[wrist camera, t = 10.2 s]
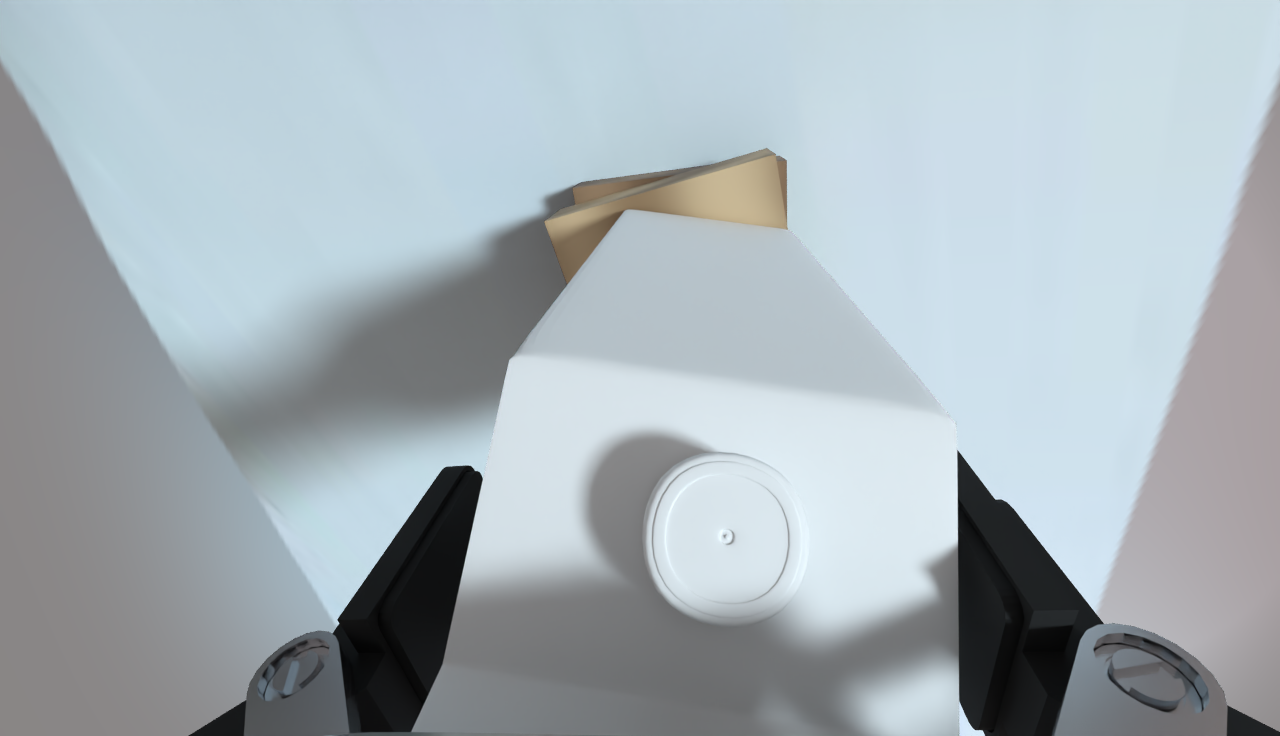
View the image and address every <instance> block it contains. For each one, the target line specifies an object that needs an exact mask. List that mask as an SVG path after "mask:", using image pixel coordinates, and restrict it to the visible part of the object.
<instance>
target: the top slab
mask: <svg viewBox="0 0 1280 736" xmlns="http://www.w3.org/2000/svg"><path fill="white" fill-rule="evenodd" d="M629 209H632V210H642V211H650V212H658V213H666V214H673V215H681V216H689V217H697V218H704V219H712V220H720V221H728V222H735V223H743V224H751V225H759V226H766V227H774V228H781V229H786V230H788V228H787V222H786V216H785V210H784V204H783V197H782V191H781V185H780V179H779V173H778V166H777V160H776V154H774V153H773V152H772V151H770V150H769V149H767V148H766V149H763V150H759V151H756V152H752V153H749V154H746V155H742V156H739V157H736V158H732V159H729V160H725V161H722V162H719V163H715V164H712V165H708V166H705V167H702V168H698V169H695V170H691V171H688V172H685V173H681V174H678V175H674V176H671V177H668V178H664V179H661V180H657V181H654V182H651V183H647V184H644V185H640V186H637V187H634V188H630V189H627V190H623V191H620V192H617V193H613V194H610V195H607V196H603V197H600V198H596V199H593V200H590V201H586V202H583V203H579V204H576V205H573V206H569V207H566V208H562V209H560V210H559V211H557V212H556V213H555V214H553V215H552V216H551V217H549V218H548V219H547V220H545V221H544V223H545V225H546V228H547V231H548V234H549V236H550V239H551V242H552V245H553V247H554V250H555V253H556V256H557V258H558V261H559V264H560V267H561V269H562V272H563V275H564V278H565V280H566V283H567V284H568V283H569V282H570V280H571V279H572V278H573V277H574V275H575V274H576V273H577V271H578V270H579V269H580V268H581V266H582V265H583V264H584V262H585V261H586V260H587V259H588V257H589V256H590V255H591V253H592V252H593V251H594V249H595V248H596V247H597V246H598V244H599V243H600V242H601V240H602V239H603V238H604V237H605V235H606V234H607V233H608V231H609V230H610V229H611V228H612V226H613V225H614V224H615V222H616V221H617V220H618V219H619V217H620V216H621V215H622V213H623V212H624V211H625V210H629Z"/></svg>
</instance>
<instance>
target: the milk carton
mask: <svg viewBox="0 0 1280 736" xmlns="http://www.w3.org/2000/svg"><path fill="white" fill-rule="evenodd" d="M411 732H464V733H519V734H572V735H615V736H959V621H958V485H957V427H956V422H955V421H954V420H953V419H952V418H951V416H950V415H949V414H948V412H947V411H946V410H945V408H944V407H943V406H942V405H941V403H940V402H939V401H938V400H937V399H936V397H935V396H934V395H933V394H932V393H931V392H930V390H929V389H928V388H927V387H926V386H925V385H924V383H923V382H922V381H921V380H920V379H919V378H918V376H917V375H916V374H915V373H914V372H913V370H912V369H911V368H910V367H909V366H908V365H907V364H906V362H905V361H904V360H903V359H902V358H901V357H900V355H899V354H898V353H897V352H896V351H895V350H894V348H893V347H892V346H891V345H890V344H889V343H888V342H887V340H886V339H885V338H884V337H883V336H882V335H881V333H880V332H879V331H878V330H877V329H876V328H875V327H874V325H873V324H872V323H871V322H870V321H869V320H868V318H867V317H866V316H865V315H864V314H863V313H862V311H861V310H860V309H859V308H858V307H857V306H856V305H855V303H854V302H853V301H852V300H851V299H850V298H849V296H848V295H847V294H846V293H845V292H844V291H843V289H842V288H841V287H840V286H839V285H838V284H837V283H836V281H835V280H834V279H833V278H832V277H831V276H830V274H829V273H828V272H827V271H826V270H825V269H824V267H823V266H822V265H821V264H820V263H819V262H818V261H817V259H816V258H815V257H814V256H813V255H812V254H811V252H810V251H809V250H808V249H807V248H806V247H805V245H804V244H803V243H802V242H801V241H800V240H799V239H798V237H797V236H796V235H795V234H794V233H793V232H792V231H790V230H786V229H781V228H774V227H766V226H759V225H751V224H743V223H735V222H728V221H720V220H712V219H704V218H697V217H689V216H681V215H673V214H666V213H658V212H650V211H642V210H632V209H629V210H625V211H624V212H623V213H622V215H621V216H620V217H619V219H618V220H617V221H616V222H615V224H614V225H613V226H612V228H611V229H610V230H609V231H608V233H607V234H606V235H605V237H604V238H603V239H602V240H601V242H600V243H599V244H598V246H597V247H596V248H595V249H594V251H593V252H592V253H591V255H590V256H589V257H588V259H587V260H586V261H585V262H584V264H583V265H582V266H581V268H580V269H579V270H578V271H577V273H576V274H575V275H574V277H573V278H572V279H571V280H570V282H569V283H568V284H567V286H566V287H565V288H564V289H563V291H562V292H561V293H560V295H559V296H558V297H557V298H556V300H555V301H554V302H553V304H552V305H551V306H550V307H549V309H548V310H547V311H546V313H545V314H544V315H543V316H542V318H541V319H540V320H539V322H538V323H537V324H536V326H535V327H534V328H533V329H532V331H531V332H530V333H529V335H528V336H527V337H526V339H525V340H524V341H523V343H522V344H521V345H520V347H519V348H518V350H517V351H516V353H515V355H514V356H513V357H512V358H511V359H510V360H509V363H508V368H507V372H506V376H505V381H504V385H503V390H502V394H501V399H500V403H499V408H498V412H497V417H496V422H495V426H494V431H493V435H492V440H491V445H490V449H489V454H488V458H487V463H486V467H485V472H484V477H483V481H482V486H481V490H480V495H479V499H478V504H477V509H476V513H475V518H474V522H473V527H472V531H471V536H470V541H469V545H468V550H467V554H466V559H465V564H464V568H463V573H462V577H461V582H460V586H459V591H458V596H457V600H456V605H455V609H454V614H453V618H452V623H451V628H450V632H449V637H448V641H447V646H446V651H445V655H444V660H443V665H442V667H441V669H440V671H439V673H438V675H437V677H436V680H435V682H434V684H433V686H432V688H431V690H430V692H429V695H428V697H427V699H426V701H425V703H424V705H423V708H422V710H421V712H420V714H419V716H418V718H417V720H416V723H415V725H414V727H413V729H412V731H411Z"/></svg>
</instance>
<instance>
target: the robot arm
mask: <svg viewBox="0 0 1280 736" xmlns="http://www.w3.org/2000/svg"><path fill="white" fill-rule="evenodd" d="M482 481H483V478H482V475H481V473H480V472H478V471H474V469H473V468H472V467H471V466H452V467H445V468H444V469H443V470H442V471H441V472H440V473H439V475H438V476H437V478H436V479H435V481H434V482H433V483H432V485H431V486H430V488H429V489H428V491H427V492H426V494H425V495H424V496H423V498H422V499H421V501H420V502H419V504H418V505H417V506H416V508H415V509H414V511H413V512H412V514H411V515H410V516H409V518H408V519H407V521H406V522H405V524H404V525H403V526H402V528H401V529H400V531H399V532H398V534H397V535H396V536H395V538H394V539H393V541H392V542H391V544H390V545H389V546H388V548H387V549H386V551H385V552H384V554H383V555H382V556H381V558H380V559H379V561H378V562H377V564H376V565H375V567H374V568H373V569H372V571H371V572H370V574H369V575H368V577H367V578H366V579H365V581H364V582H363V584H362V585H361V587H360V588H359V589H358V591H357V592H356V594H355V595H354V597H353V598H352V599H351V601H350V602H349V604H348V605H347V607H346V608H345V609H344V611H343V612H342V614H341V615H340V617H339V618H338V619H337V620H338V622H339V623H340V624H339V625H338V626H337V628H336V629H335V631H334V632H333V634H332V633H330V632H326V631H315V632H310V633H306V634H304V635H302V636H300V637H297V638H295V639H293V640H291V641H290V642H288V643H286V644H285V645H283V646H282V647H280V648H279V649H278V650H277V651H275V652H274V653H273V654H272V655H271V656H270V657H268V658H267V659H266V661H265V662H264V663H263V664H262V665H261V666H260V668H259V669H258V670H257V671H256V673H255V675H254V677H253V678H252V680H251V682H250V684H249V688H248V691H247V698H246V701H244V702H242V703H241V704H239V705H237V706H236V707H234V708H233V709H231V710H229V711H228V712H226V713H224V714H223V715H221V716H220V717H218V718H216V719H215V720H213V721H212V722H210V723H208V724H207V725H205V726H204V727H202V728H201V729H199V730H197V731H195V732H194V733H192V734H191V735H189V736H615V735H572V734H519V733H464V732H411V731H412V729H413V727H414V725H415V723H416V720H417V718H418V716H419V714H420V712H421V710H422V708H423V705H424V703H425V701H426V699H427V697H428V695H429V692H430V690H431V688H432V686H433V684H434V682H435V680H436V677H437V675H438V673H439V671H440V669H441V667H442V665H443V660H444V655H445V651H446V646H447V641H448V637H449V632H450V628H451V623H452V618H453V614H454V609H455V605H456V600H457V596H458V591H459V586H460V582H461V577H462V573H463V568H464V564H465V559H466V554H467V550H468V545H469V541H470V536H471V531H472V527H473V522H474V518H475V513H476V509H477V504H478V499H479V495H480V490H481V486H482ZM957 485H958V621H959V701H960V704H961V706H962V708H963V710H964V713H965V715H966V717H967V719H968V721H969V723H970V725H971V726H972V728H973V729H975V730H983V732H984V734H985V736H1280V732H1279V731H1276V730H1275V729H1273V728H1271V727H1269V726H1267V725H1265V724H1263V723H1261V722H1259V721H1257V720H1255V719H1253V718H1251V717H1249V716H1247V715H1245V714H1243V713H1241V712H1239V711H1237V710H1235V709H1233V708H1231V707H1229V706H1227V703H1226V699H1225V694H1224V691H1223V689H1222V688H1221V687H1220V685H1219V683H1218V682H1217V680H1216V679H1215V677H1214V676H1213V674H1212V673H1211V672H1210V671H1209V670H1208V669H1207V668H1206V667H1205V666H1204V665H1202V663H1201V662H1200V661H1199V660H1198V659H1196V658H1195V657H1194V656H1192V655H1191V654H1189V653H1188V652H1186V651H1185V650H1184V649H1182V648H1181V647H1179V646H1178V645H1177V644H1175V643H1173V642H1171V641H1169V640H1167V639H1165V638H1163V637H1161V636H1159V635H1157V634H1155V633H1152V632H1149V631H1146V630H1143V629H1140V628H1137V627H1134V626H1129V625H1122V624H1115V623H1112V624H1104V623H1103V622H1102V621H1101V620H1100V618H1099V617H1098V616H1097V615H1096V613H1095V612H1094V611H1093V609H1092V608H1091V607H1090V606H1089V604H1088V603H1087V602H1086V601H1085V599H1084V598H1083V597H1082V595H1081V594H1080V593H1079V592H1078V590H1077V589H1076V588H1075V587H1074V585H1073V584H1072V583H1071V581H1070V580H1069V579H1068V578H1067V576H1066V575H1065V574H1064V573H1063V571H1062V570H1061V569H1060V567H1059V566H1058V565H1057V564H1056V562H1055V561H1054V560H1053V559H1052V557H1051V556H1050V555H1049V554H1048V552H1047V551H1046V550H1045V548H1044V547H1043V546H1042V545H1041V543H1040V542H1039V541H1038V540H1037V538H1036V537H1035V536H1034V534H1033V533H1032V532H1031V531H1030V529H1029V528H1028V527H1027V526H1026V524H1025V523H1024V522H1023V520H1022V519H1021V518H1020V517H1019V515H1018V514H1017V513H1016V512H1015V510H1014V509H1013V508H1012V507H1011V506H1010V505H1009V504H1008V503H1007V502H1005V501H1003V500H995V499H994V498H993V496H992V495H991V494H990V492H989V491H988V490H987V488H986V487H985V486H984V484H983V483H982V482H981V480H980V479H979V478H978V476H977V475H976V474H975V473H974V471H973V470H972V469H971V467H970V466H969V465H968V463H967V462H966V461H965V459H964V458H963V457H962V455H961V454H960V453H959V451H958V450H957Z"/></svg>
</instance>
